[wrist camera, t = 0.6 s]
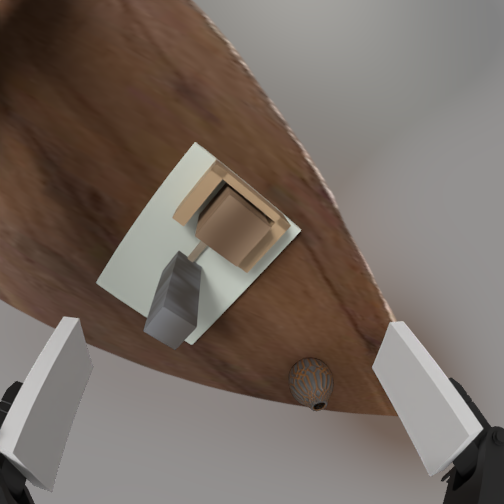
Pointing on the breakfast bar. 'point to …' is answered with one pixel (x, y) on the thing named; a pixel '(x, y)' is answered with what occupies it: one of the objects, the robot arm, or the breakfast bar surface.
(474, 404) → the robot arm
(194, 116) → the breakfast bar surface
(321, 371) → the vase
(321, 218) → the breakfast bar surface
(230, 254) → the tether block
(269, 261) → the white board with bracket
